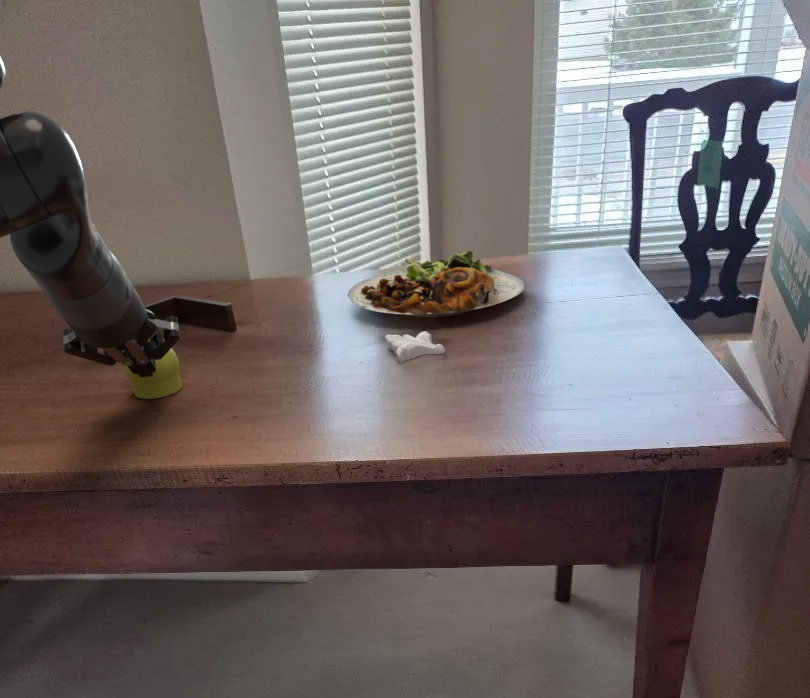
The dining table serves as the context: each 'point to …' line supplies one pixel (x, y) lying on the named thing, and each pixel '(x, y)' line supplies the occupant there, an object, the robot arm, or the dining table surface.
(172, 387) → the pear
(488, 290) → the plate of food
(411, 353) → the acanthus leaf ornament
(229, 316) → the corner fence
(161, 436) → the dining table surface
